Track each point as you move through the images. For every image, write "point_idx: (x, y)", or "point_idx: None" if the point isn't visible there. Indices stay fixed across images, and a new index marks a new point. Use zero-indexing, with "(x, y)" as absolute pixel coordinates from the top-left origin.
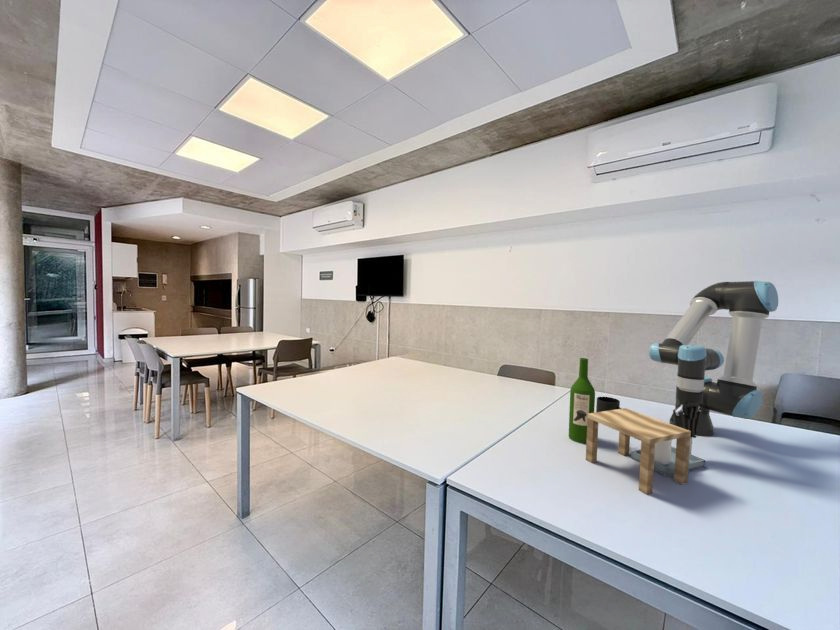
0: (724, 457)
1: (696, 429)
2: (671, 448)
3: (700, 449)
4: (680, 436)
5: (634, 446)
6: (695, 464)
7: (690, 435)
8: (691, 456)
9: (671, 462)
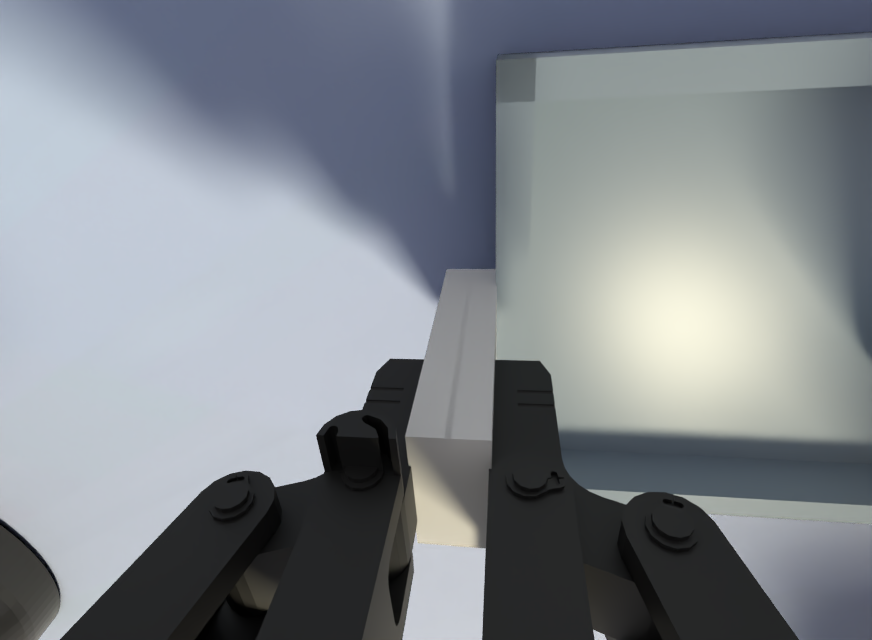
0: (10, 160)
1: (189, 586)
2: None
3: (128, 352)
4: None
5: None
6: (747, 43)
7: (401, 491)
8: (529, 229)
9: (857, 253)
